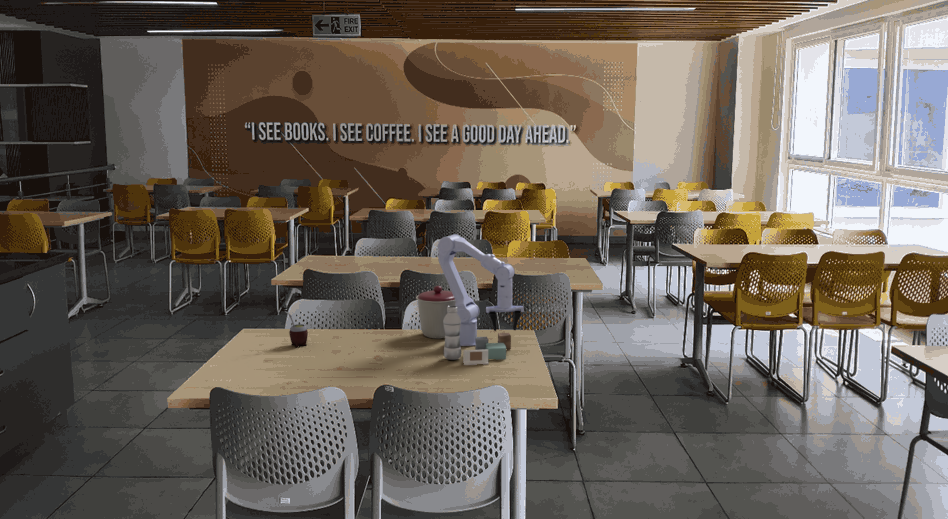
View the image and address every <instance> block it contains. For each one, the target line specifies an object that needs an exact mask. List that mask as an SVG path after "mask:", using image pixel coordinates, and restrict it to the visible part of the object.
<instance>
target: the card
mask: <svg viewBox="0 0 948 519" xmlns="http://www.w3.org/2000/svg"><path fill="white" fill-rule="evenodd" d="M462 351H463V352H462V353H463V358H462V360H463V361H462V363H464V364H463V366H477V364H483V365H489V360H488V350H475V349H465V350H464V349H463V350H462Z"/></svg>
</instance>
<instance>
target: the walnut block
mask: <svg viewBox="0 0 948 519" xmlns="http://www.w3.org/2000/svg"><path fill="white" fill-rule="evenodd" d="M497 343H504V344H505V346H506V349H507V350H506V351H509V350H508V349H511V348H512V335H511V334H510V332H497Z"/></svg>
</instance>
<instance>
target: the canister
mask: <svg viewBox="0 0 948 519" xmlns="http://www.w3.org/2000/svg"><path fill="white" fill-rule="evenodd" d="M415 300H417V305H418V308H417V309H418V316H419V321H420V322H419V323H420V329H421V332H422V334H423V336H425V337H427V338H430V339H445V329H444V323H443V320H444V317H445V316H446V315H447V313H448V312H447V307H448V306H455V304H456V301H455V298H454V296H453V294H452V291H451V290H450V291H449V290H443V287H442V286H441V285H435V286H434V287H433V290H428V291H423V292H421V293H419V294H418V295H416V297H415Z"/></svg>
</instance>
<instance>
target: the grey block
mask: <svg viewBox="0 0 948 519" xmlns="http://www.w3.org/2000/svg"><path fill="white" fill-rule="evenodd" d="M486 343H489V338H488V336H477V337H475V349H474V350H486Z"/></svg>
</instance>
